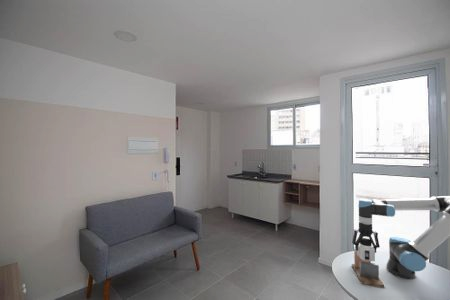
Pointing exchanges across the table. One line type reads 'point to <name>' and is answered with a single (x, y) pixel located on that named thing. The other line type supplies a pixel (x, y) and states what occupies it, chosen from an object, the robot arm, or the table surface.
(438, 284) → the table surface
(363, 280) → the shelf
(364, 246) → the container
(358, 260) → the books
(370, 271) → the bookend
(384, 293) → the table surface
